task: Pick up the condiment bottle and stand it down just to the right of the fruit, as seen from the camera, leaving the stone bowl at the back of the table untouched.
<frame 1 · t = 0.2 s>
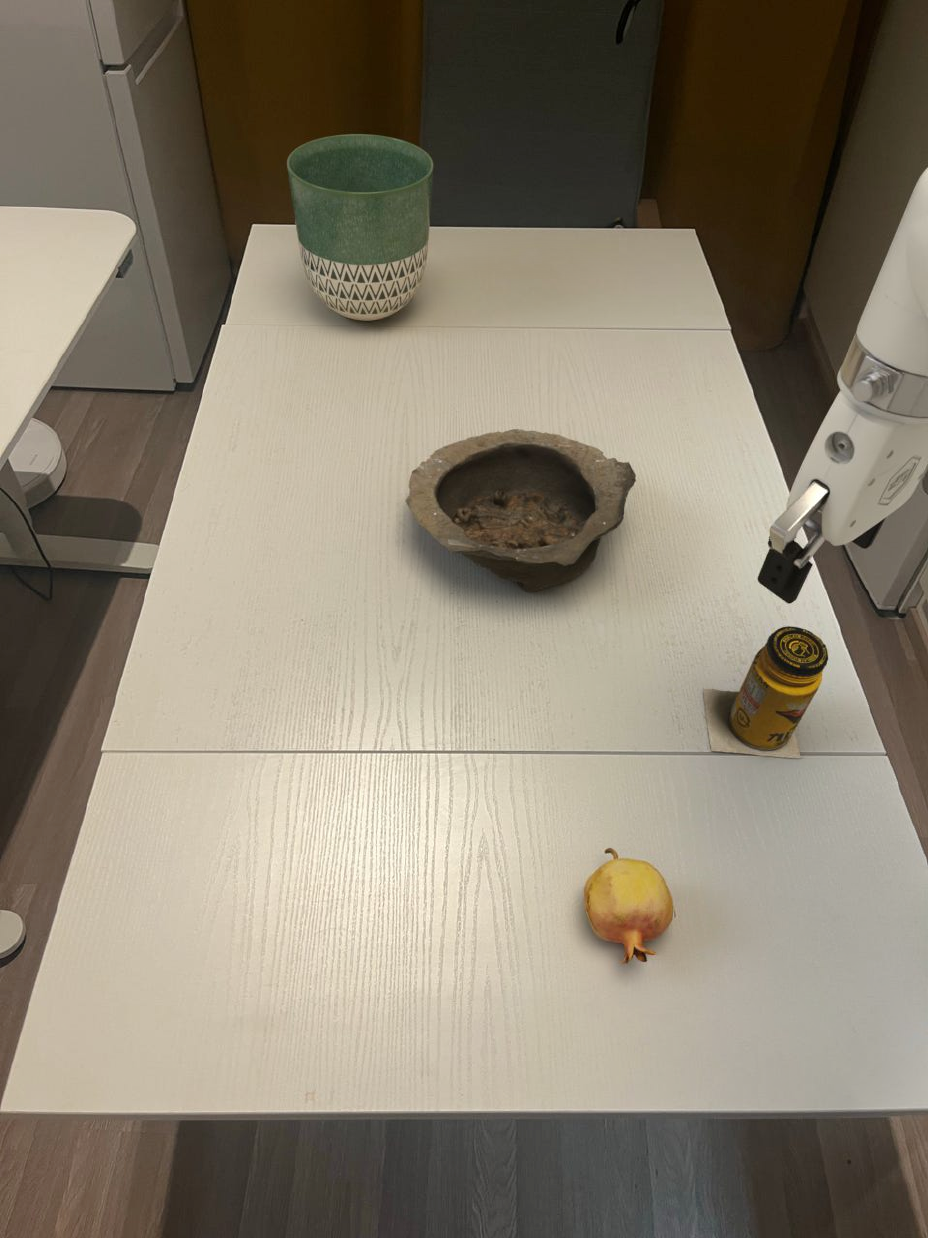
hand: (814, 563, 69), 23 cm above the table, tool pointing down, fingers open, 9 cm apart
fruit: (621, 919, 73), on the table
stone bowl: (512, 536, 103), on the table
planter: (366, 311, 135), on the table
condiment: (749, 725, 87), on the table
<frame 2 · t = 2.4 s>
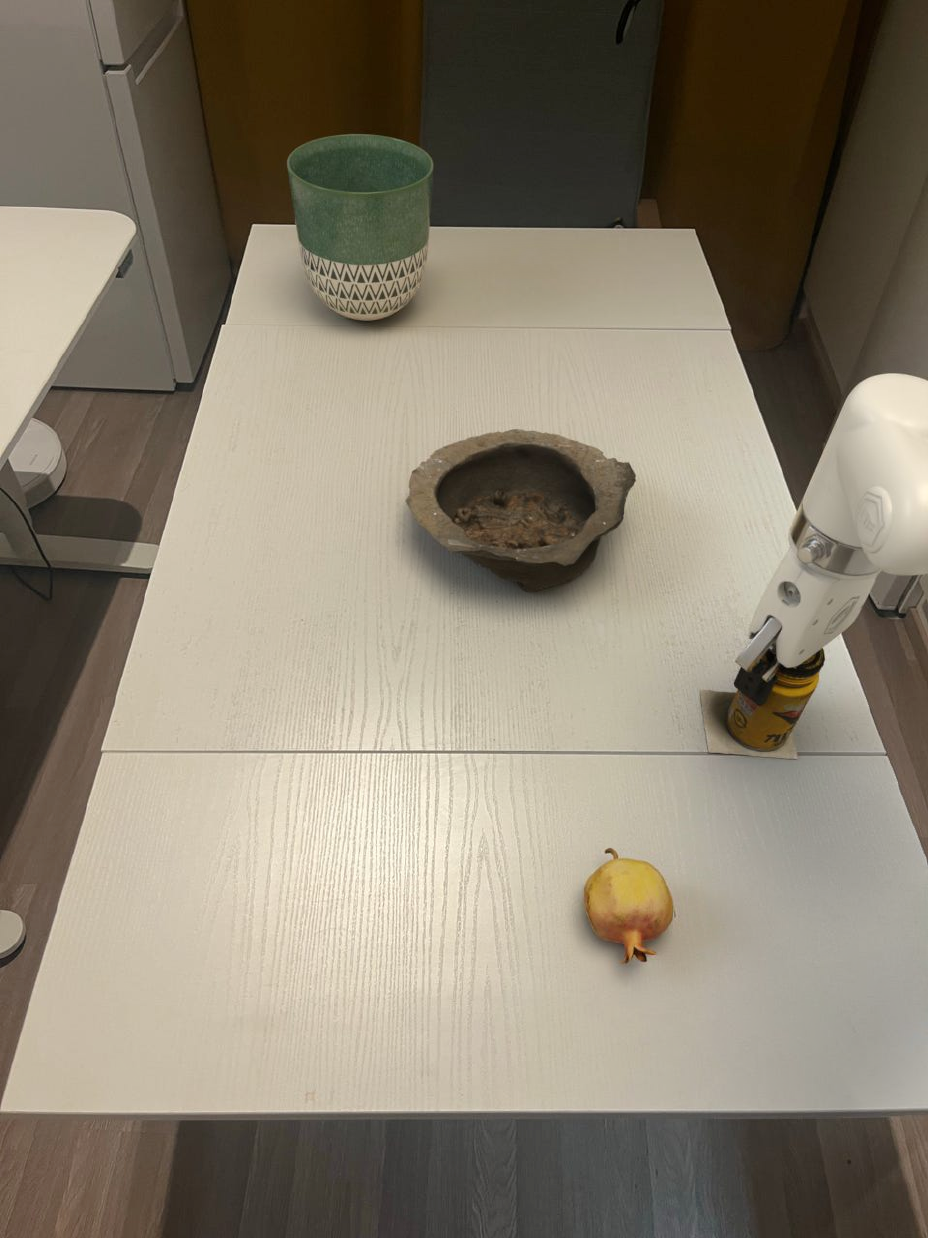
hand: (772, 675, 81), 7 cm above the table, tool pointing down, fingers closed on condiment, 6 cm apart
condiment: (746, 726, 87), on the table, touching gripper
everything else where it was.
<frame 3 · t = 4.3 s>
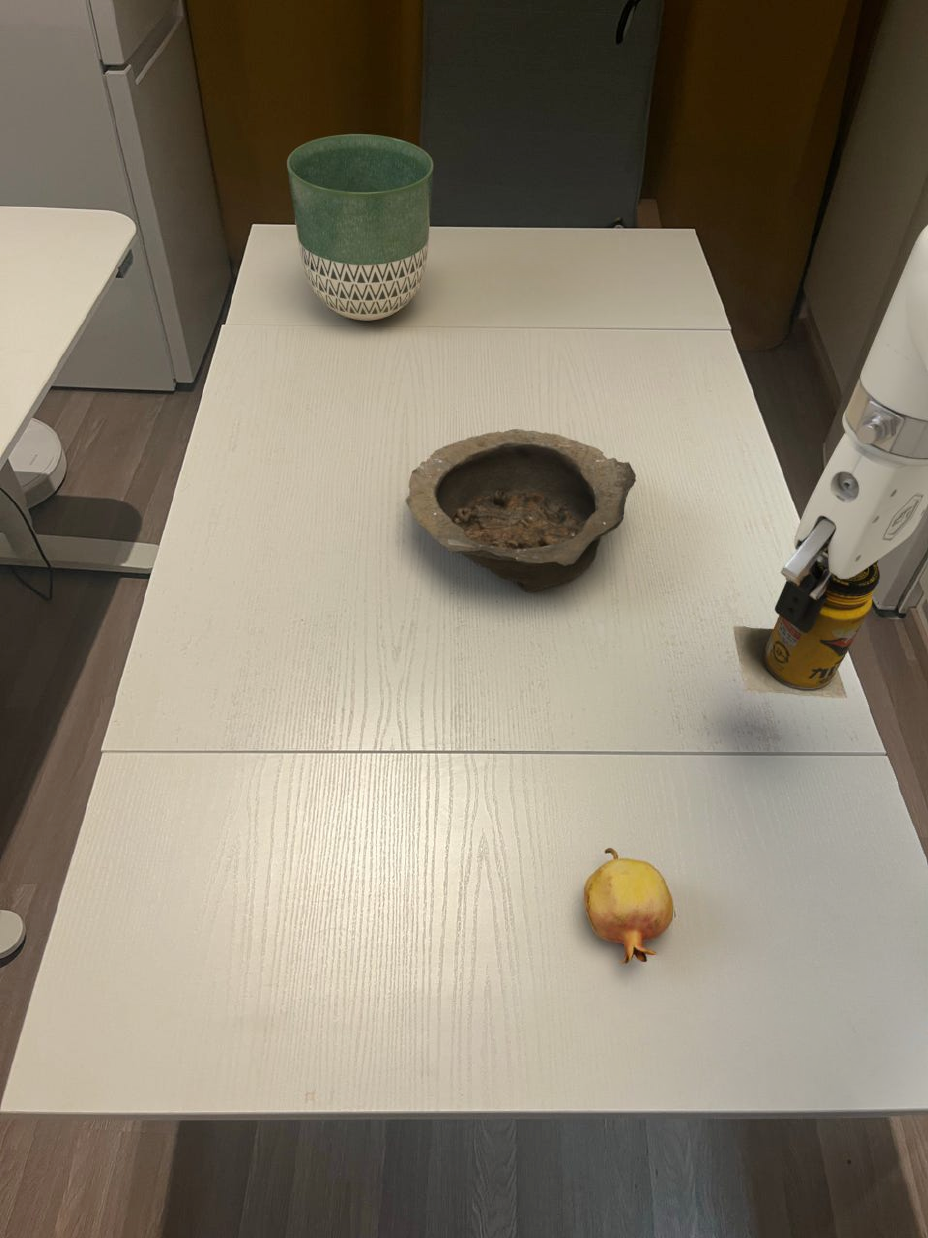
hand: (818, 601, 72), 19 cm above the table, tool pointing down, fingers closed on condiment, 6 cm apart
condiment: (786, 664, 77), point 11 cm above the table, touching gripper
everything else where it was.
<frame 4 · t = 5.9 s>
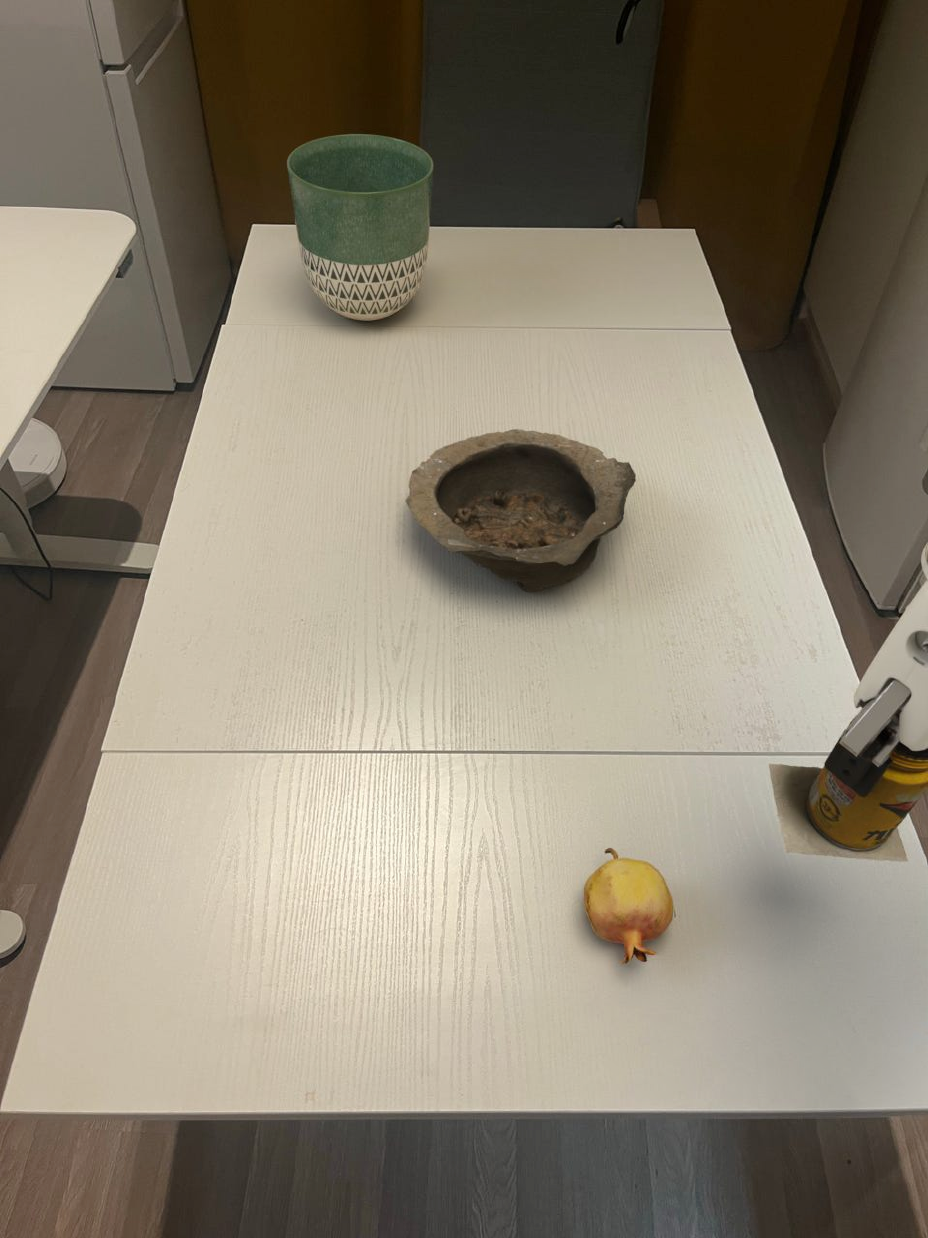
hand: (876, 752, 60), 21 cm above the table, tool pointing down, fingers closed on condiment, 6 cm apart
condiment: (833, 814, 65), point 14 cm above the table, touching gripper
everything else where it was.
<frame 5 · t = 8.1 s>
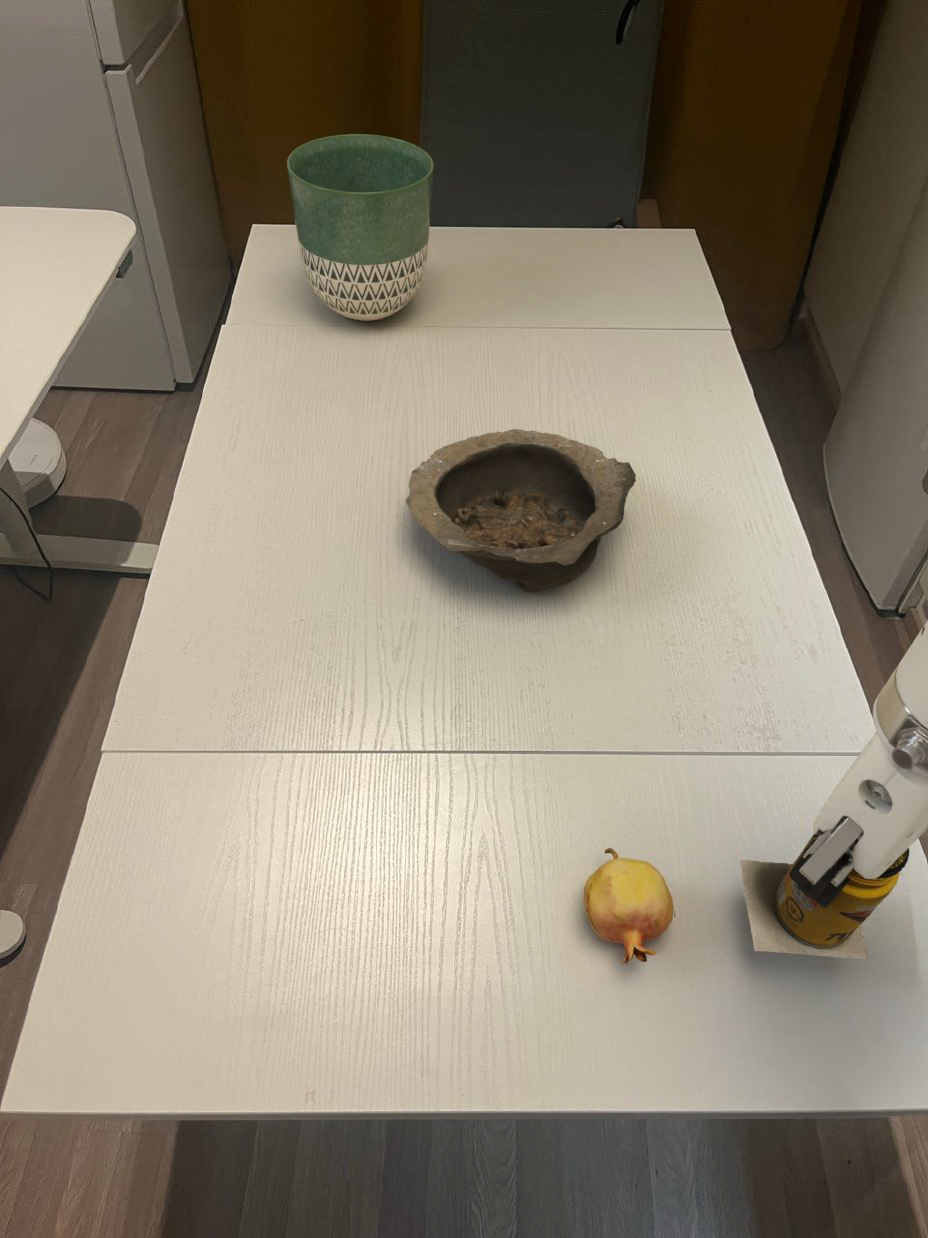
hand: (837, 861, 64), 12 cm above the table, tool pointing down, fingers closed on condiment, 6 cm apart
condiment: (800, 910, 69), point 5 cm above the table, touching gripper
everything else where it was.
when the fingers open (7 cm above the table, at t = 9.7 s): condiment stays where it is, on the table.
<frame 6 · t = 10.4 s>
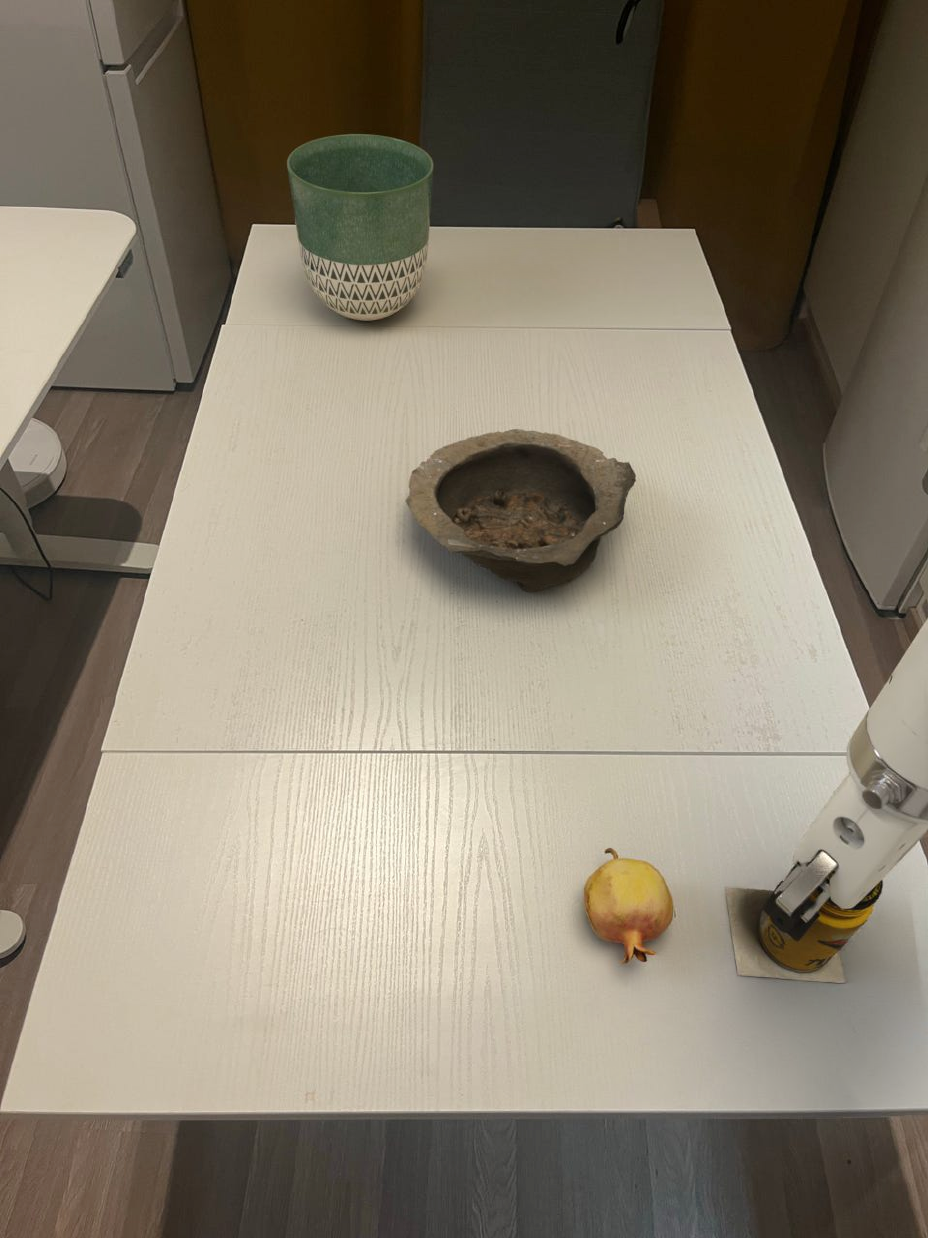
hand: (821, 884, 67), 8 cm above the table, tool pointing down, fingers open, 9 cm apart
condiment: (781, 935, 73), on the table
everything else where it was.
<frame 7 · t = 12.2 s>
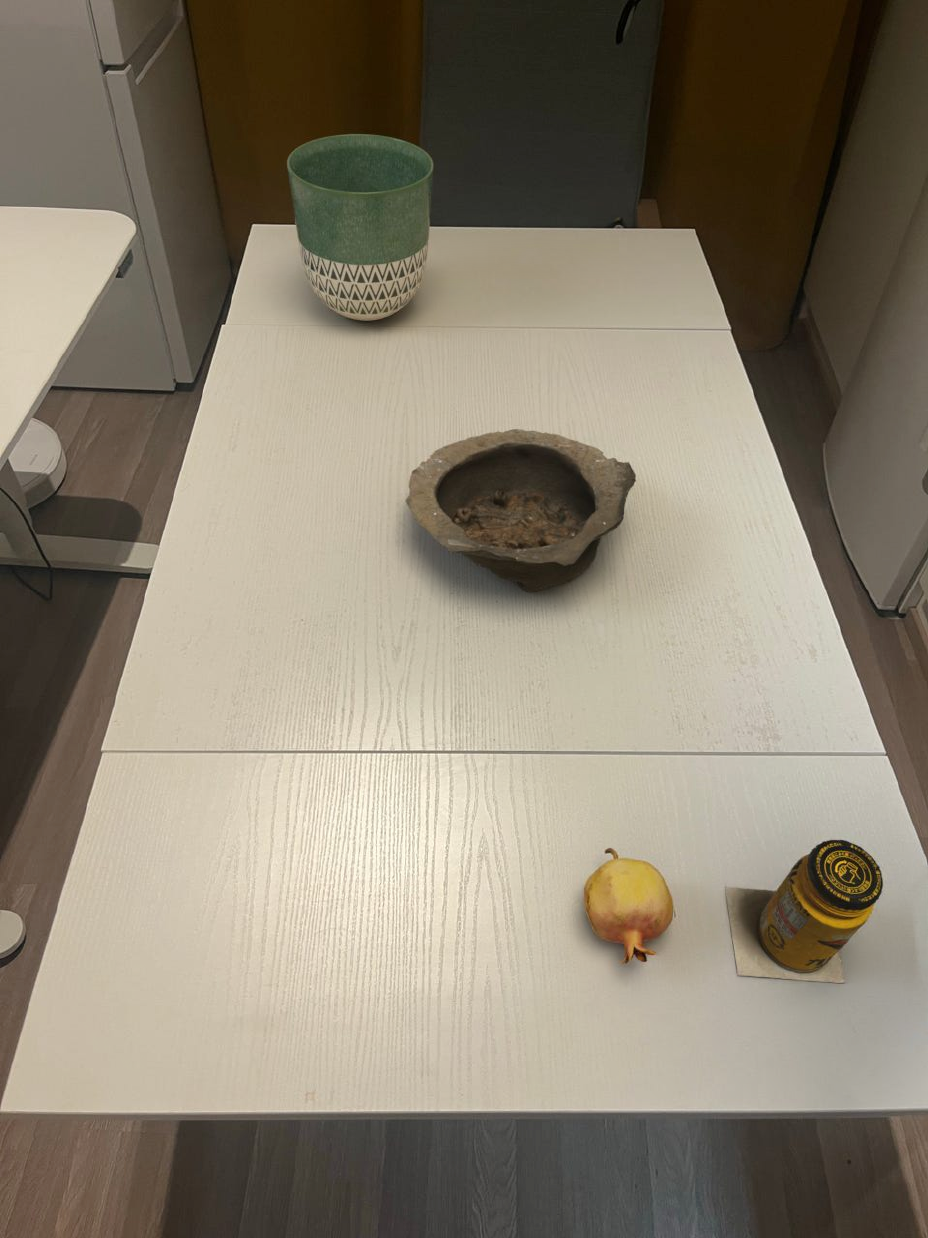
nothing on the table moved.
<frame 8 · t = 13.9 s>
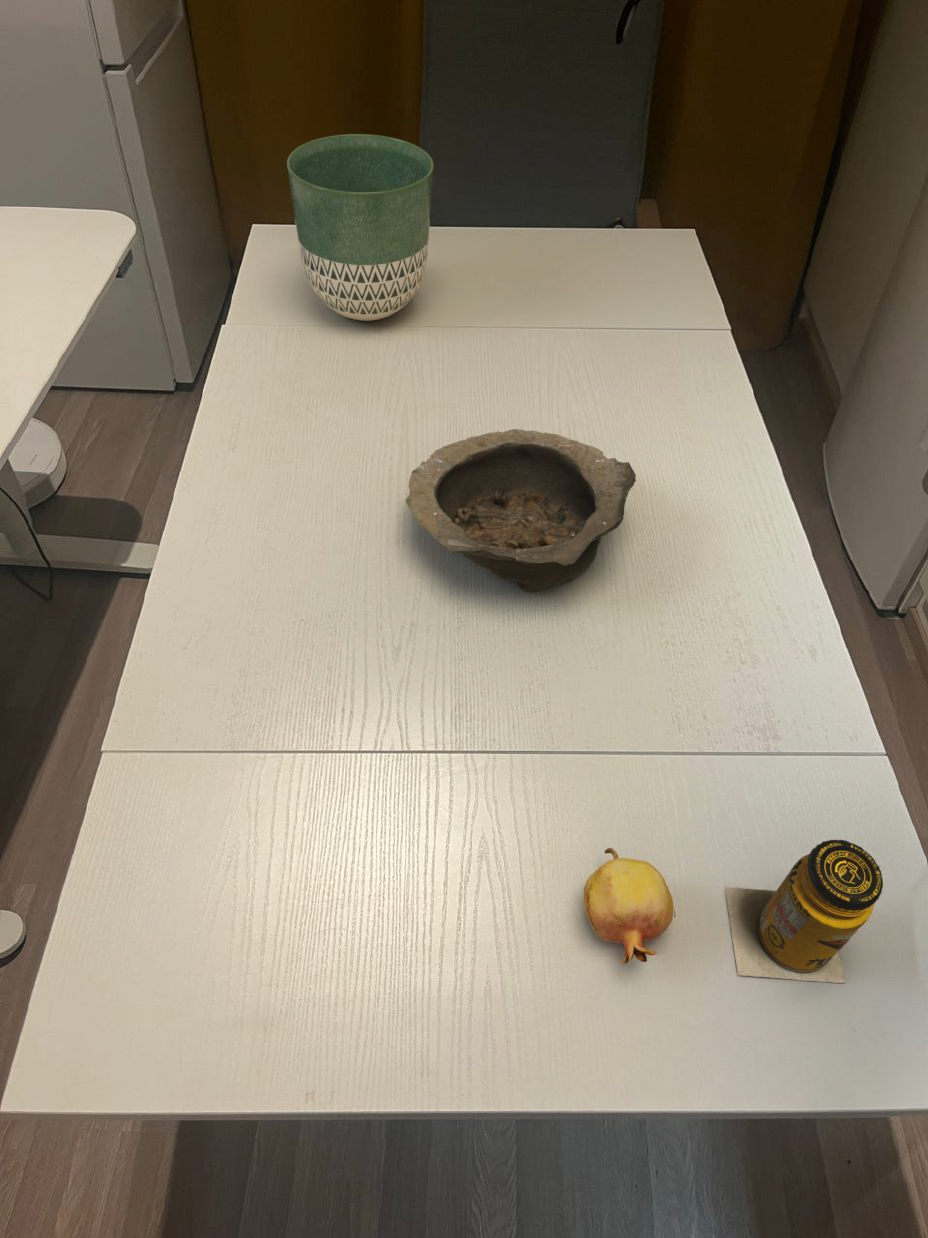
nothing on the table moved.
at the end: condiment inside the target area on the table beside the fruit (0.6 cm from its centre), on the table; condiment tilted 0°; stone bowl moved 0.2 cm from its start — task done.
